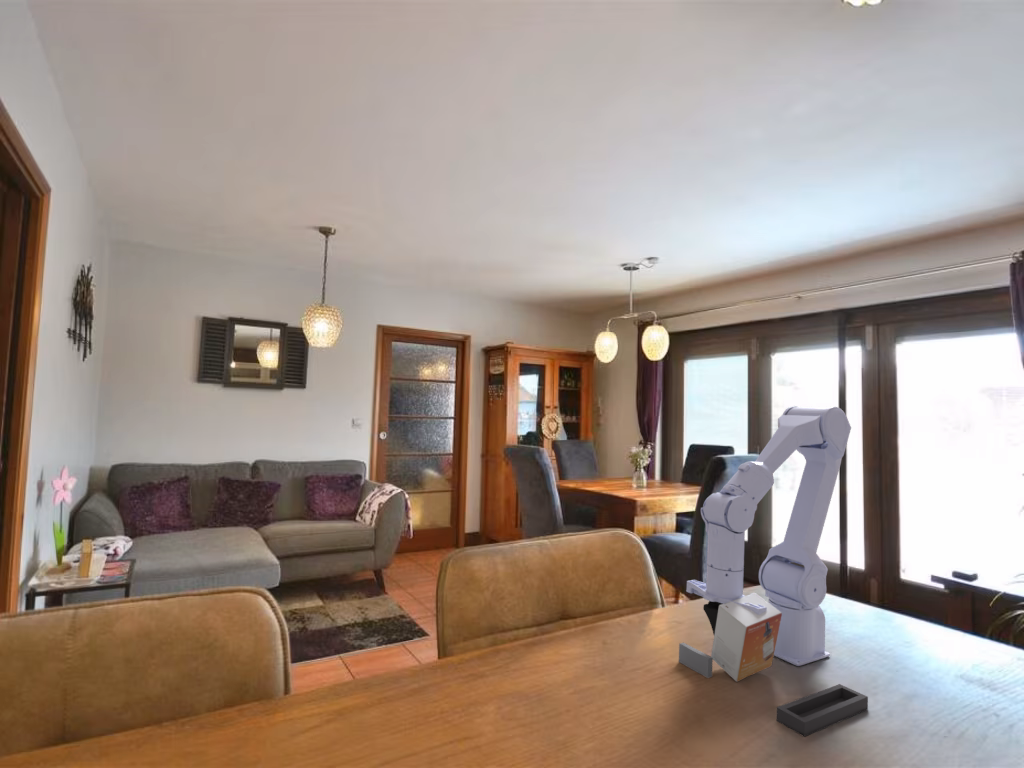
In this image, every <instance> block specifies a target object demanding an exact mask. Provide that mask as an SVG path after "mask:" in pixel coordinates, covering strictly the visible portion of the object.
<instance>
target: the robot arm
mask: <svg viewBox="0 0 1024 768" xmlns="http://www.w3.org/2000/svg"><path fill="white" fill-rule="evenodd" d="M848 419H849V418H848V417H847V415H846V413H845V411H844V410H842V408H840V407H838V406H830V407H820V406H818V407H812V406H811V407H810V406H809V407H808V406H795V405H793V406H788V407H786V408H785V410H784V411H783V413H782V414H781V416H779V417H778V418H777V430H776V431H775V432H774V434H773V435H772V436H771V438H770V439H769V441H768V442H767V443H766V445H765V447H764V448H763V449H762V450H761V452H760V454H759V455H758V456H757V458H756V459H755V461H746V462H744V463H741V464H740V465H739V466H738V467H737V471H736V472H735V473H734V474H733V476H731V478H730V479H729V480H728V481H727V482H726V483H725V484H724V485H723V487H722V489H721V490H720V491H718V492H713V493H711V494H710V495H709V496H708V497H707V498H706V499H705V500H704V502H703V505H702V507H700V515H701V519H702V520H703V522H704V524H705V532H706V535H707V551H706V552H707V556H706V578H705V579H706V582H702V581H701V580H700V581H699V580H697V579H691V580H686V590H685V591H686V592H687V593H689V594H695V595H697V596H700V597H702V598H703V599H704V600H706V601H708V602H707V603H706V604H703V609H702V610H703V611H704V613H705V615H706V616H707V619H708V621H709V624H710V626H711V630H712V633H713V635H714V634H715V628H716V622H717V615H718V609H719V605H721V604H725V603H728V602H730V601H731V602H734V603H736V604H739V605H741V606H744V607H746V608H748V609H750V610H752V611H754V612H755V613H756V614H758V615H760V614H761V613H763V612H765V611H767V607H765V606H762V605H760V604H758V605H759V606H760V607H759V606H757V605H754V604H752V603H749V604H750V605H752V606H750V605H746V604H747V603H738V602H735V601H733V600H736V599H739V598H741V597H744V596H746V595H745V594H744V570H745V569H744V568H745V567H744V566H745V537H746V535H745V533H746V531H747V530H749V528H750V527H752V526H753V523H754V519H755V513H756V511H757V510H758V504H759V503H760V501H762V500H763V498H764V497H765V496H766V494H767V493H768V492H769V490H771V488H772V487H773V486H774V483H775V477H774V473H775V472H776V471H777V470H778V469H779V468H780V467H781V465H783V464H784V463H785V462H786V461H787V460H788V459H789V458H791V457H790V456H791V455H792V454H793V453H795V451H797V452H798V453H799V454H801V455H803V457H804V460H805V465H804V468H803V469H804V470H803V472H802V475H801V478H800V483H799V487H798V489H797V493H796V496H795V500H794V504H793V507H792V510H791V514H790V517H789V521H788V525H787V528H786V530H785V535H784V538H783V541H782V542H780V543H778V544H776V545H775V546H773V547H771V548H769V550H768V554H767V556H766V558H765V559H764V560H763V562H762V563H761V565H760V567H759V570H758V582H759V584H760V586H761V588H762V589H763V590H764V591H765V597H767V598H768V603H770V604H771V605H772V606H774V607H775V608H776V609H778V610H779V611H780V612H781V613H782V616H781V621H780V626H779V631H778V636H777V641H776V646H775V651H774V656H773V657H776V658H778V659H780V660H783V661H785V662H787V663H790V664H792V665H793V666H796V667H799V666H803V665H806V664H809V663H812V662H816V661H819V660H822V659H826V658H828V657H830V656H831V653H830V652H828V651H826V616H825V612H824V611H823V609H822V607H821V606H820V605H821V604H822V603H823V601H824V599H825V598H826V595H827V574H828V571H829V569H828V567H827V566H826V565H827V564H825V563H824V561H823V560H822V559H821V558H820V556H819V555H818V554H817V552H818V548H819V544H820V541H821V537H822V534H823V529H824V527H825V522H826V520H827V519H826V518H827V516H828V512H829V509H830V504H831V501H832V498H833V493H834V490H835V486H836V482H837V479H838V475H839V473H840V468H841V464H842V458H843V457H844V455H845V451H846V448H847V445H848V441H849V437H850V433H851V429H852V426H851V424H850V422H849V420H848ZM794 563H796V564H794ZM797 564H799V565H800V566H799V565H797ZM801 565H802V566H801Z"/></svg>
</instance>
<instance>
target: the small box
mask: <svg viewBox="0 0 1024 768" xmlns="http://www.w3.org/2000/svg"><path fill="white" fill-rule="evenodd" d="M733 601H735V602H738V603H747V604H746V605H750V604H749V603H752V604H754V605H757V606H759V605H758V604H760V605H762V606H765V607H767V611H765V612H763V613H761V614H760V615H758V614H756V613H755V612H754V611H752V610H750V609H748V608H746V607H744V606H741V605H739V604H736V603H734V602H731V601H730V602H728V603H725V604H721V605H719V609H718V615H717V622H716V628H715V634H713V641H712V649H711V654H710V655H711V657H713V662H715V663H716V664H717V665H718V666H719V667H720V668H721V669H722V670H723V671H724V672H725V673H726V674H728V675H729V676H730V678H732V679H733V680H734V681H735V682H737V683H738V682H739V681H742V680H743V679H746V678H747V677H750V676H751V675H754V674H757V673H759V672H761V671H764V670H765V669H769V668H770V667H772V666H773V665H772V664H773V661H774V657H775V656H774V651H775V646H776V641H777V636H778V631H779V626H780V621H781V616H782V613H781V612H780V611H779V610H778V609H776V608H775V607H774V606H772V605H771V604H770V603H769V601H767V600H766V599H765V598H763V597H762V596H760V594H758V593H756V592H751V593H748V594H747V595H745V596H744V597H741V598H739V599H736V600H733ZM750 606H752V605H750ZM759 607H760V606H759Z"/></svg>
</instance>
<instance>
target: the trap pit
mask: <svg viewBox="0 0 1024 768" xmlns="http://www.w3.org/2000/svg"><path fill="white" fill-rule="evenodd" d="M868 705H869V696H867V695H866V694H863V693H860V692H858V691H856V690H854V689H852V688H849V687H847V686H845V685H842V684H840V683H839V684H836V685H833V686H831V687H828V688H825V689H823V690H820V691H817V692H815V693H812V694H809V695H807V696H803V697H801V698H797V699H795V700H793V701H790V702H788V703H785V704H782V705H779V706H776V718H775V719H776V722H778V723H779V724H782V725H783V726H785V727H787V728H788V729H790V730H792V731H794V732H795V733H797V734H799V735H800V736H801V737H807V736H809V735H812V734H814V733H816V732H819V731H821V730H823V729H826V728H828V727H831V726H832V725H835V724H837V723H840V722H842V721H844V720H847V719H848V718H849V719H850V718H851V717H854V716H856V715H860V713H861V714H862V713H863V712H866V711H867V710H869V708H868V707H869V706H868Z"/></svg>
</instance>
